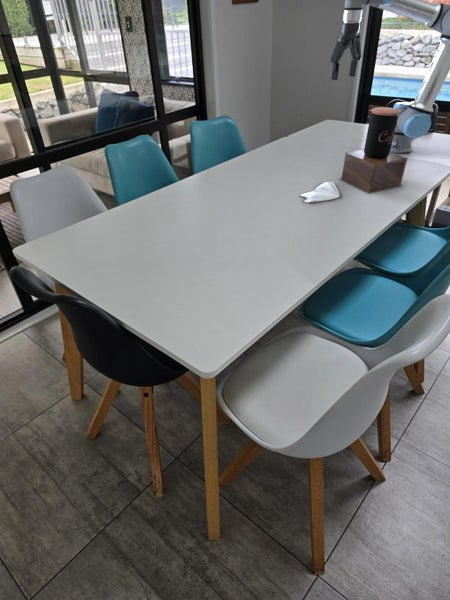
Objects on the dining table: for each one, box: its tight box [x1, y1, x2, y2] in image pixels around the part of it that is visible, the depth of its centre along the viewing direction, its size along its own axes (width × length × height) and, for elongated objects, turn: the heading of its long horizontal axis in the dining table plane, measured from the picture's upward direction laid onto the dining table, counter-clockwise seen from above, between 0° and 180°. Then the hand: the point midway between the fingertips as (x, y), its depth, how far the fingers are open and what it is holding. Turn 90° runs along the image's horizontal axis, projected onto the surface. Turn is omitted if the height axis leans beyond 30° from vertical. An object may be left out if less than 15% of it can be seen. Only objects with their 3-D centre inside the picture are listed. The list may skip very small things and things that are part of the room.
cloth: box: [299, 180, 341, 204], centre depth 173 cm, size 26×14×2 cm, turn 136°
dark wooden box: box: [340, 148, 408, 194], centre depth 180 cm, size 18×18×12 cm
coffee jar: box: [363, 106, 399, 159], centre depth 171 cm, size 11×11×18 cm
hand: (343, 78), depth 189 cm, fingers open, 13 cm apart
